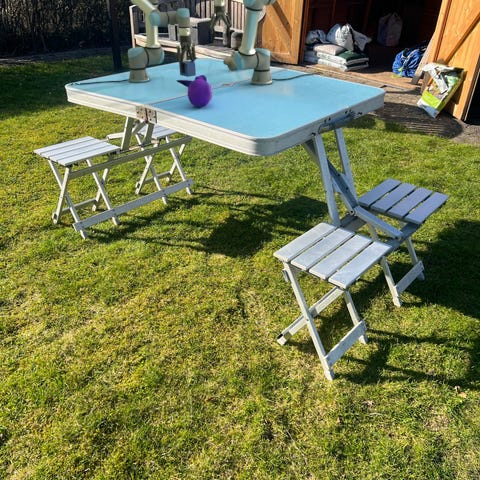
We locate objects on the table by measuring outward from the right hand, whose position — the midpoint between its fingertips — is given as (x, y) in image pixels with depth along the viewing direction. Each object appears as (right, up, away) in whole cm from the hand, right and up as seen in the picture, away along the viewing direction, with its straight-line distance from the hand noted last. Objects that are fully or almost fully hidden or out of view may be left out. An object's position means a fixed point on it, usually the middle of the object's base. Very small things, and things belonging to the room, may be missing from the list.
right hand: (220, 37), depth 331 cm
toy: (-12, -67, -58) cm, 89 cm away
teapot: (+10, -9, +40) cm, 42 cm away
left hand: (-21, -35, -27) cm, 49 cm away
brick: (-21, -37, -26) cm, 50 cm away
